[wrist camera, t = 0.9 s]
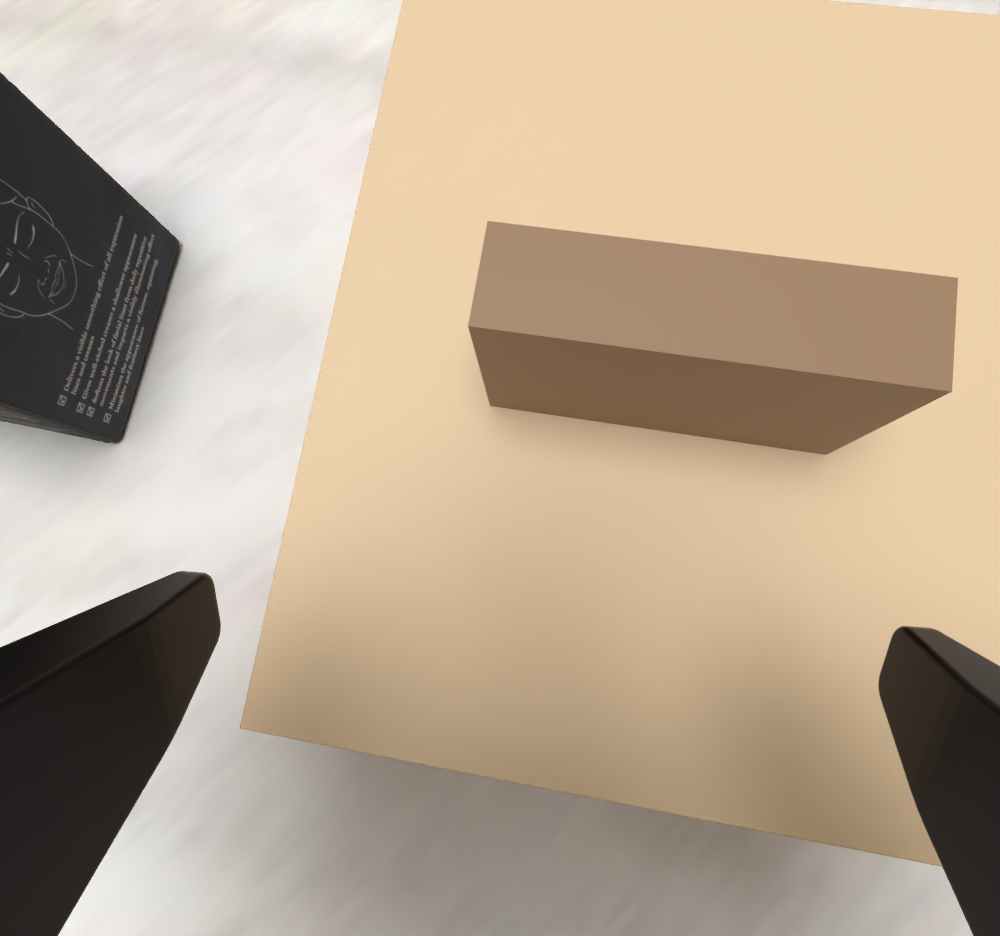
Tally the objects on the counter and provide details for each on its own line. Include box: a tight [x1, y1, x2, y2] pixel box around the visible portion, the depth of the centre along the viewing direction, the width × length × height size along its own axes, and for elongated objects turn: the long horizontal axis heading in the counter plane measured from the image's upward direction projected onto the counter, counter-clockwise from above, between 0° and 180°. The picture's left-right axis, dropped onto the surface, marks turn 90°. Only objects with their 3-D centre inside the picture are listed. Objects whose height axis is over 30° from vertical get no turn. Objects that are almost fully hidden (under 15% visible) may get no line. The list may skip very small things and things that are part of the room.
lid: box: [240, 0, 1000, 866], centre depth 15 cm, size 21×17×6 cm
